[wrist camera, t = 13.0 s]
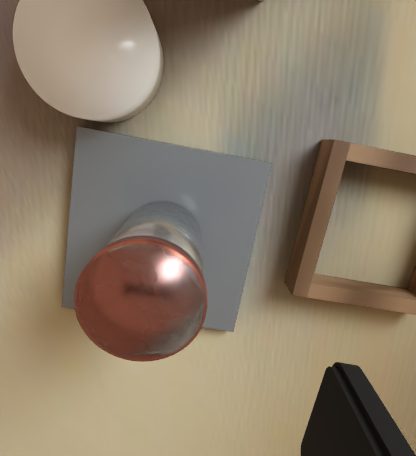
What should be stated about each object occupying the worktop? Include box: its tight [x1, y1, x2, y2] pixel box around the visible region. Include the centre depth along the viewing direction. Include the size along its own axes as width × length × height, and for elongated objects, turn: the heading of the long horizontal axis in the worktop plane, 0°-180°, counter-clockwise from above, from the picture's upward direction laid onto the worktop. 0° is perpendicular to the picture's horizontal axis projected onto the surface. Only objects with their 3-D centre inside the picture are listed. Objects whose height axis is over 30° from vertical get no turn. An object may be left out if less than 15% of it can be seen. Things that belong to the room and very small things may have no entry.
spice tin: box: [74, 201, 207, 361], centre depth 18 cm, size 5×5×9 cm
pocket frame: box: [285, 140, 416, 315], centre depth 22 cm, size 10×10×2 cm
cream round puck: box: [13, 0, 164, 122], centre depth 18 cm, size 7×7×4 cm
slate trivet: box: [62, 126, 272, 332], centre depth 22 cm, size 12×12×1 cm
